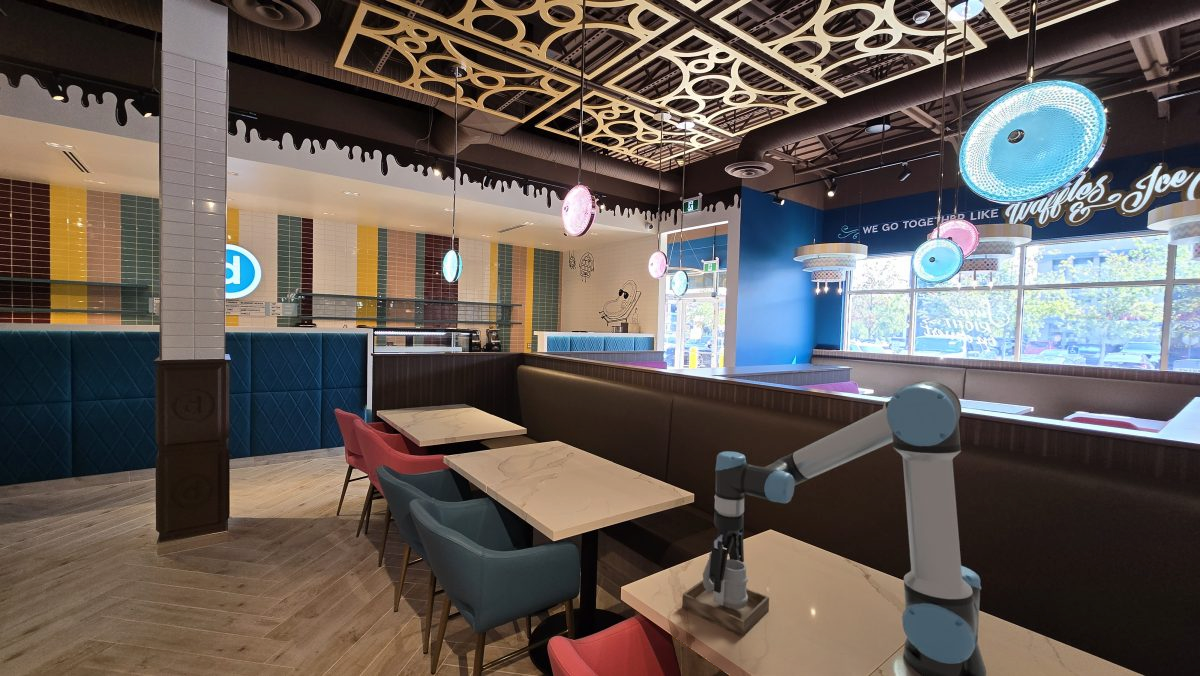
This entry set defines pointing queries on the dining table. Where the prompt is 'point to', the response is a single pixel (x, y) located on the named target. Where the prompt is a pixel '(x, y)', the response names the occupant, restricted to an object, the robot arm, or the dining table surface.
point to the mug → (730, 583)
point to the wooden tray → (726, 609)
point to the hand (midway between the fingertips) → (726, 596)
